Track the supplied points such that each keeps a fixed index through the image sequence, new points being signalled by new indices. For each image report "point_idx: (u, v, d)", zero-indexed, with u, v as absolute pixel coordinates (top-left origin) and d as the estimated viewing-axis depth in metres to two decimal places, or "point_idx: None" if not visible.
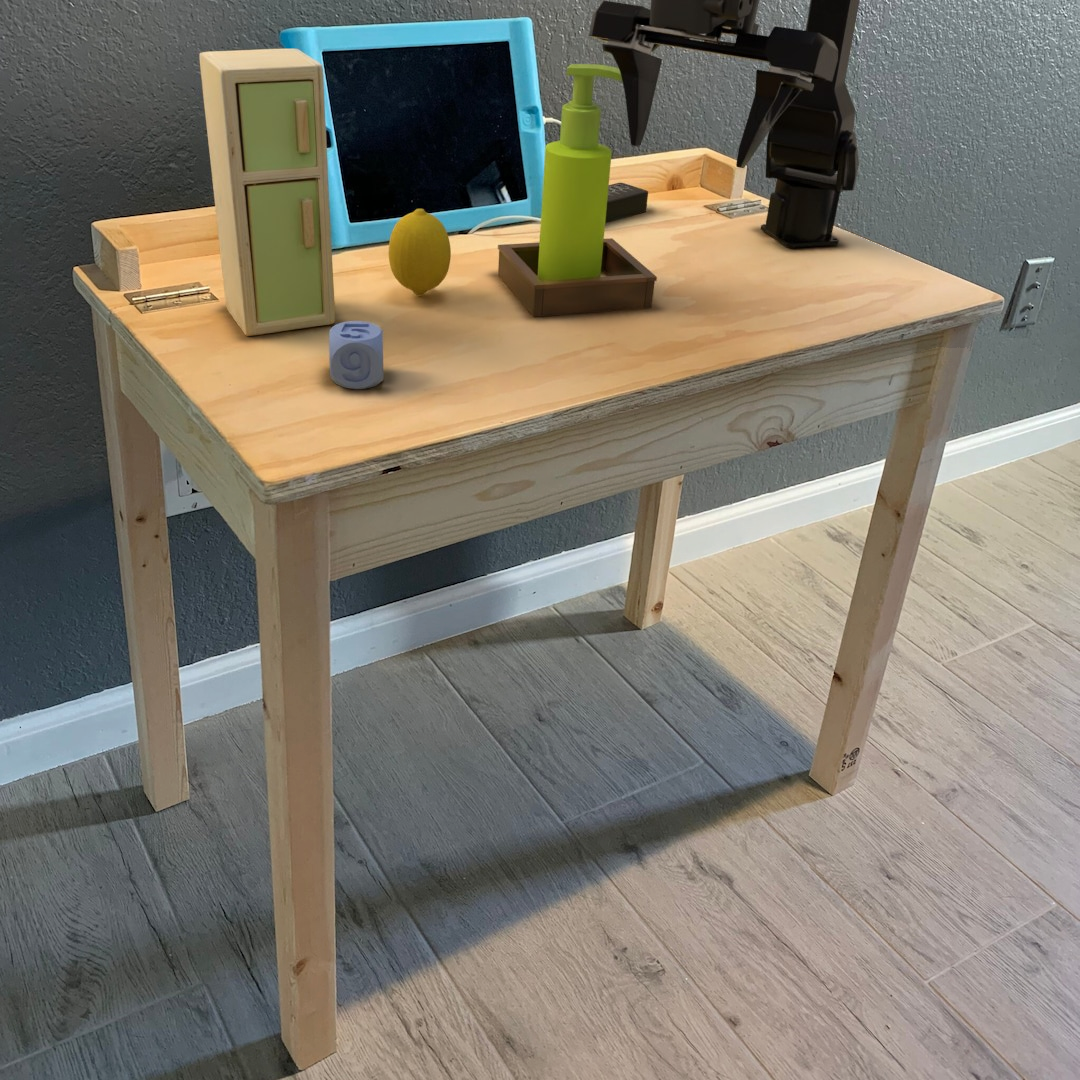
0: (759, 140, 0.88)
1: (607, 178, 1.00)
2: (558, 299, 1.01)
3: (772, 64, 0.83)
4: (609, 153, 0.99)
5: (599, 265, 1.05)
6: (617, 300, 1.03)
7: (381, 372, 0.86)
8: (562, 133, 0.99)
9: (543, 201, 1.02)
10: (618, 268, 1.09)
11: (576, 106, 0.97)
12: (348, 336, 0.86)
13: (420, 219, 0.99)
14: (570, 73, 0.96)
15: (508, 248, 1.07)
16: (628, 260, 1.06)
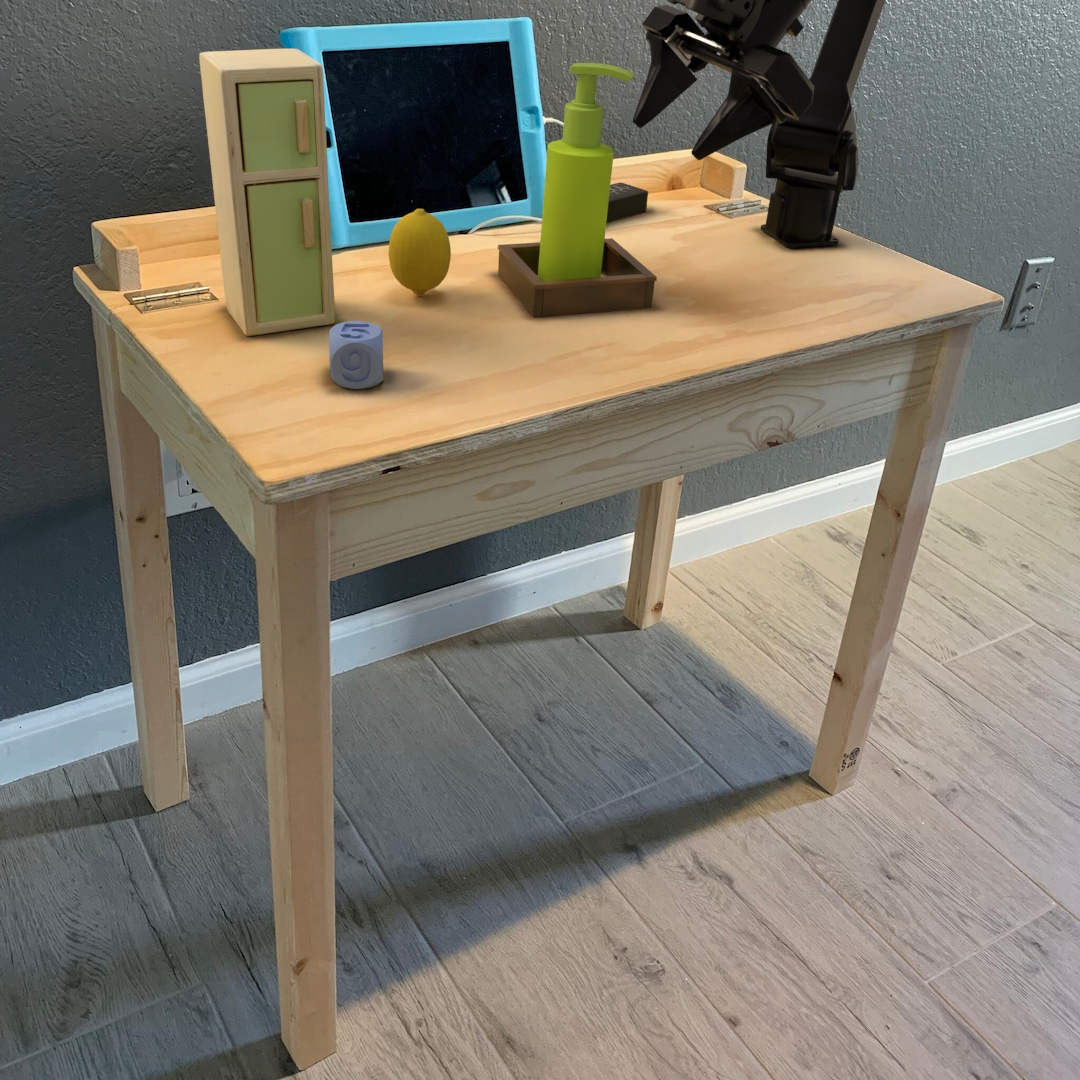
0: (720, 141, 0.97)
1: (609, 177, 1.00)
2: (558, 299, 1.01)
3: (744, 66, 0.93)
4: (611, 152, 0.99)
5: (599, 265, 1.05)
6: (617, 300, 1.03)
7: (381, 372, 0.86)
8: (565, 131, 0.99)
9: (544, 199, 1.02)
10: (618, 268, 1.09)
11: (579, 105, 0.97)
12: (348, 336, 0.86)
13: (420, 219, 0.99)
14: (574, 71, 0.96)
15: (508, 248, 1.07)
16: (628, 260, 1.06)
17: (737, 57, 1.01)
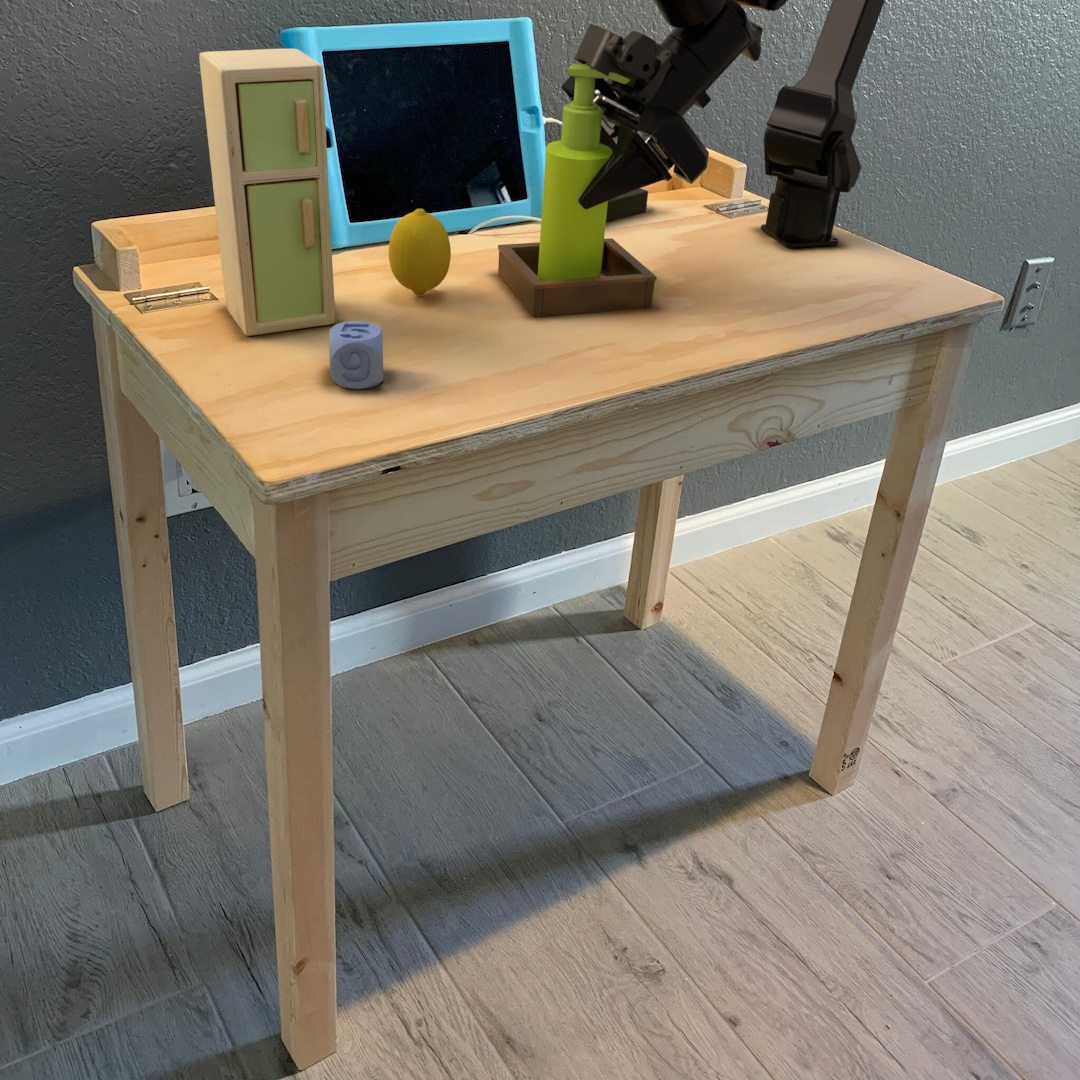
0: (607, 193, 0.99)
1: None
2: (558, 299, 1.01)
3: (639, 125, 0.94)
4: (610, 154, 0.99)
5: (599, 265, 1.04)
6: (617, 300, 1.03)
7: (381, 372, 0.86)
8: (563, 133, 0.98)
9: (543, 201, 1.02)
10: (618, 268, 1.09)
11: (577, 107, 0.97)
12: (348, 336, 0.86)
13: (420, 219, 0.99)
14: (571, 74, 0.95)
15: (508, 248, 1.07)
16: (628, 260, 1.06)
17: None
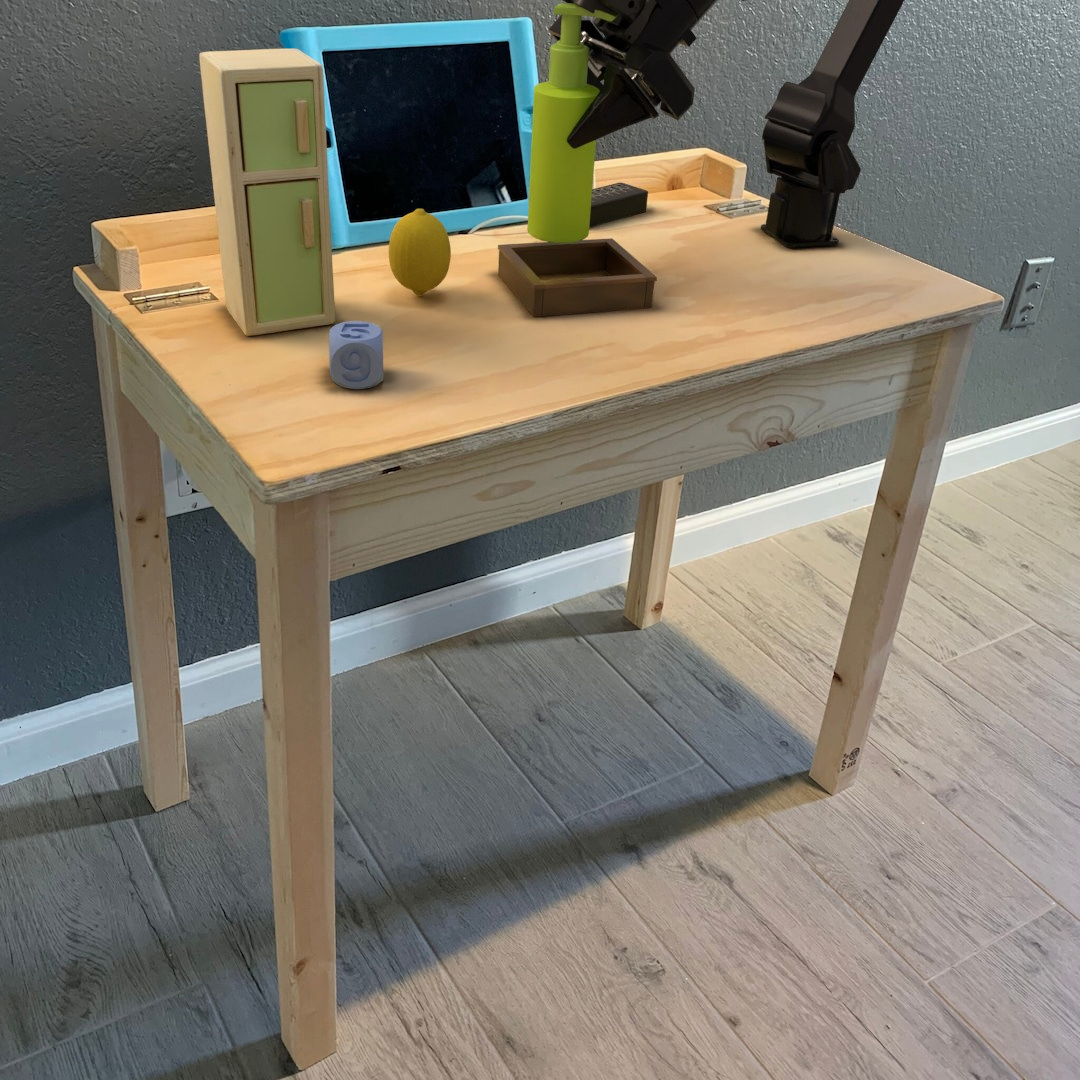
0: (595, 132, 1.00)
1: None
2: (558, 299, 1.01)
3: (625, 61, 0.95)
4: (597, 93, 1.00)
5: (588, 206, 1.06)
6: (617, 300, 1.03)
7: (381, 372, 0.86)
8: (550, 73, 0.99)
9: (532, 142, 1.03)
10: (618, 268, 1.09)
11: (564, 46, 0.98)
12: (348, 336, 0.86)
13: (420, 219, 0.99)
14: (557, 12, 0.97)
15: (508, 248, 1.07)
16: (628, 260, 1.06)
17: None
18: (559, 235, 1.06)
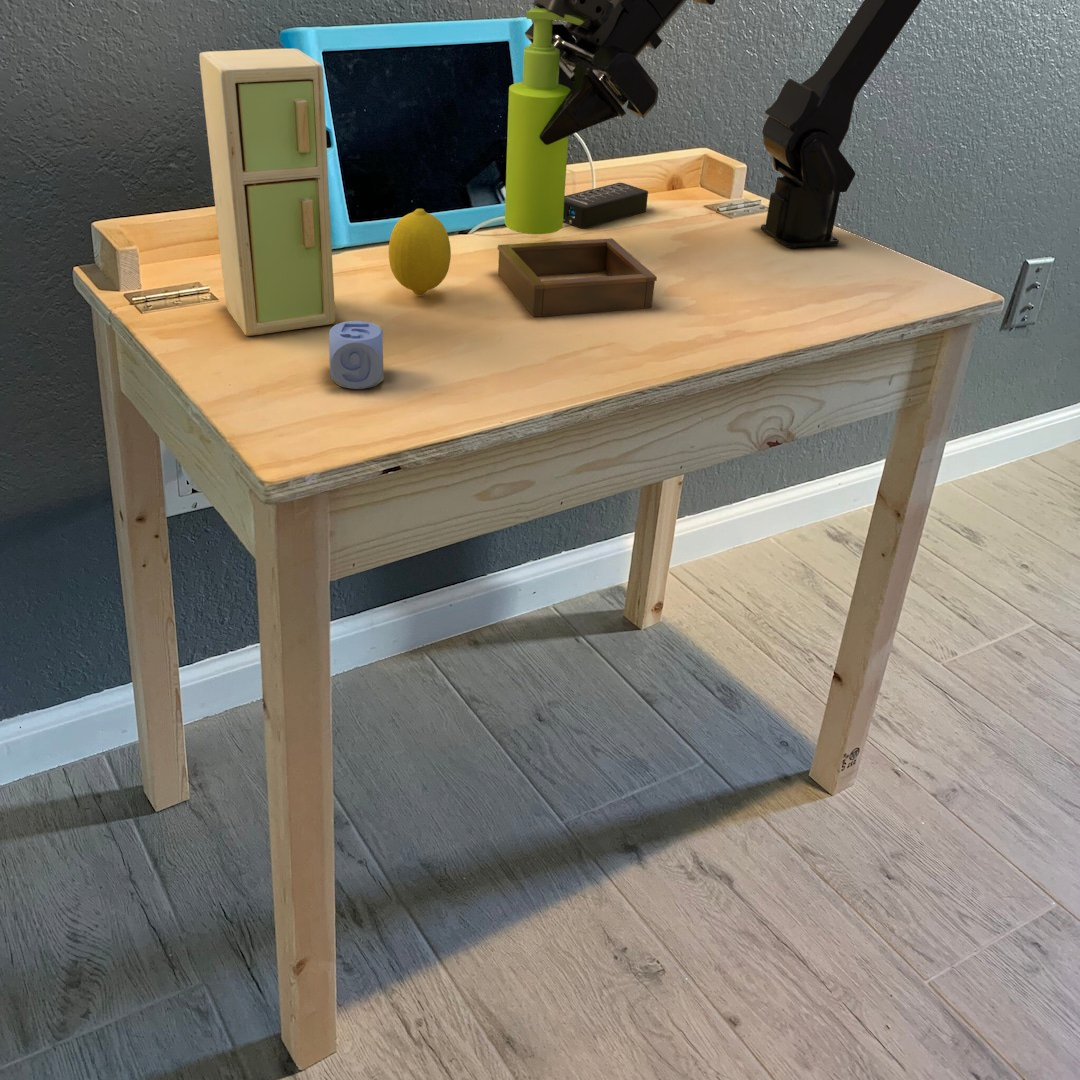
0: (566, 129, 1.06)
1: None
2: (558, 299, 1.01)
3: (592, 62, 1.01)
4: (568, 93, 1.06)
5: (561, 200, 1.12)
6: (617, 300, 1.03)
7: (381, 372, 0.86)
8: (524, 74, 1.06)
9: (508, 139, 1.09)
10: (618, 268, 1.09)
11: (536, 48, 1.04)
12: (348, 336, 0.86)
13: (420, 219, 0.99)
14: (530, 17, 1.03)
15: (508, 248, 1.07)
16: (628, 260, 1.06)
17: None
18: (534, 227, 1.12)
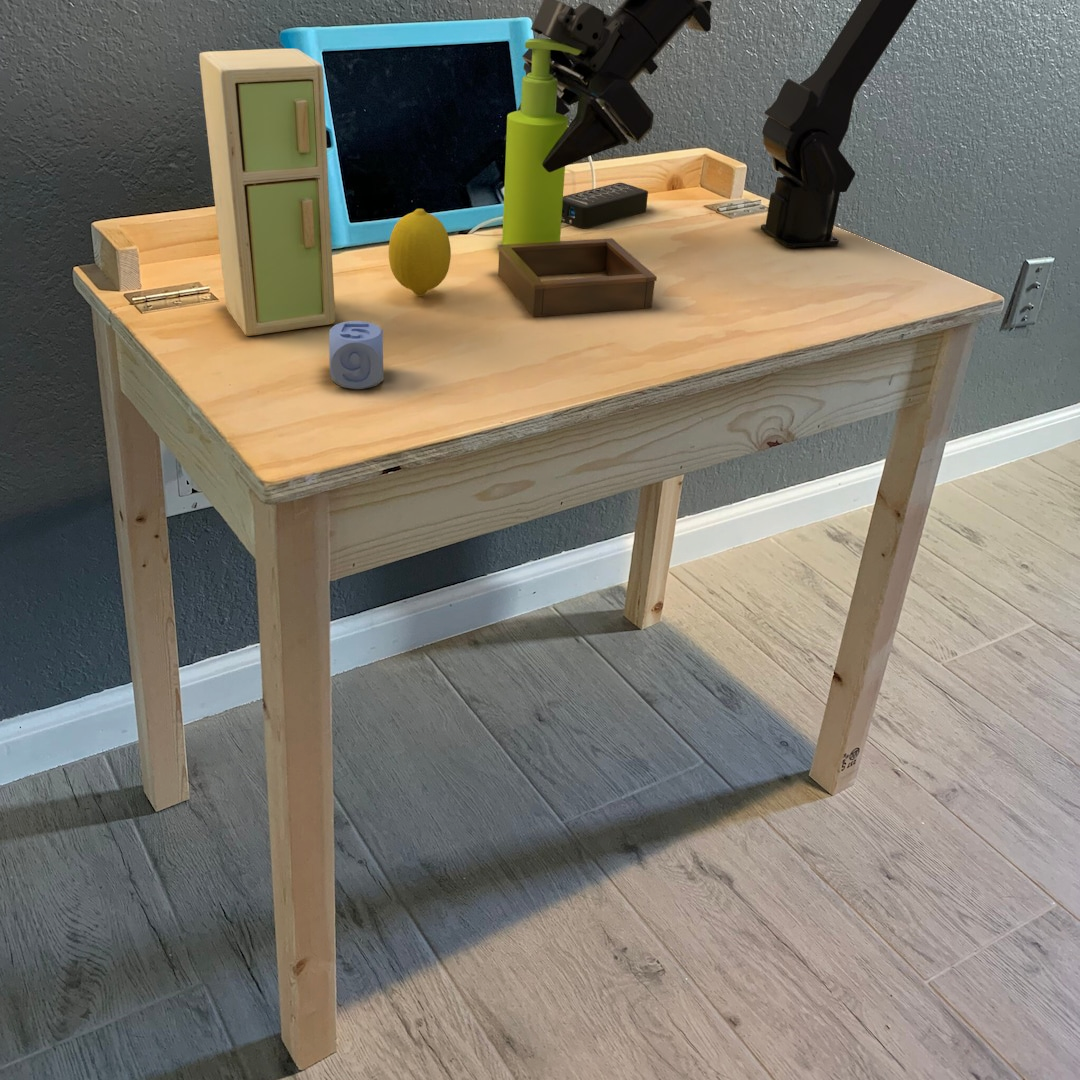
0: (568, 157, 1.06)
1: None
2: (558, 299, 1.01)
3: (589, 88, 1.03)
4: (565, 121, 1.08)
5: (558, 226, 1.14)
6: (617, 300, 1.03)
7: (381, 372, 0.86)
8: (522, 102, 1.08)
9: (506, 165, 1.11)
10: (618, 268, 1.09)
11: (534, 77, 1.06)
12: (348, 336, 0.86)
13: (420, 219, 0.99)
14: (528, 47, 1.05)
15: (508, 248, 1.07)
16: (628, 260, 1.06)
17: None
18: None
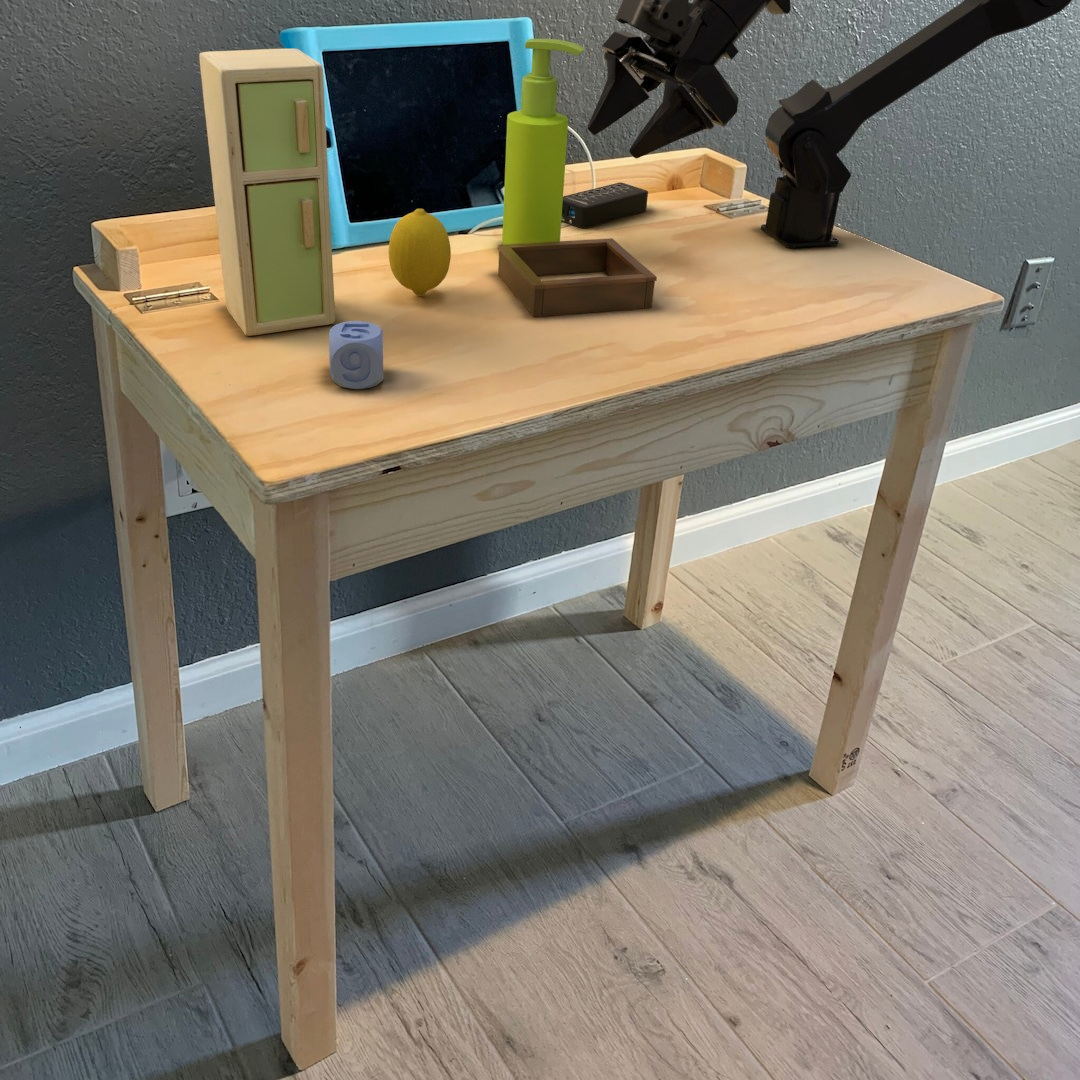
0: (655, 143, 1.09)
1: (564, 144, 1.09)
2: (558, 299, 1.01)
3: (675, 75, 1.06)
4: (565, 121, 1.08)
5: (558, 226, 1.14)
6: (617, 300, 1.03)
7: (381, 372, 0.86)
8: (522, 102, 1.08)
9: (506, 165, 1.11)
10: (618, 268, 1.09)
11: (534, 77, 1.06)
12: (348, 336, 0.86)
13: (420, 219, 0.99)
14: (528, 47, 1.05)
15: (508, 248, 1.07)
16: (628, 260, 1.06)
17: None
18: None
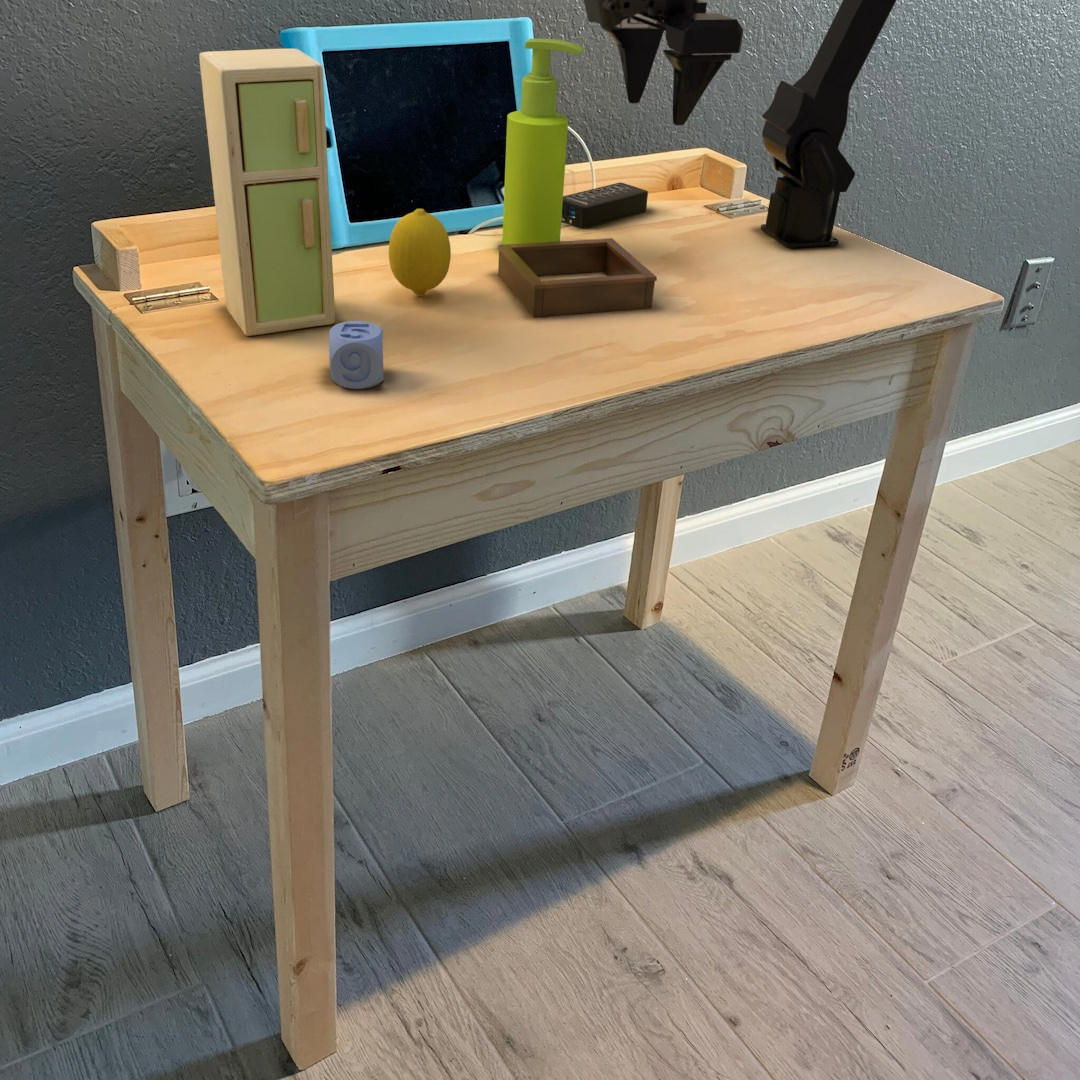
0: (690, 102, 1.08)
1: (564, 144, 1.09)
2: (558, 299, 1.01)
3: (669, 46, 1.04)
4: (565, 121, 1.08)
5: (558, 226, 1.14)
6: (617, 300, 1.03)
7: (381, 372, 0.86)
8: (522, 102, 1.08)
9: (506, 165, 1.11)
10: (618, 268, 1.09)
11: (534, 77, 1.06)
12: (348, 336, 0.86)
13: (420, 219, 0.99)
14: (528, 47, 1.05)
15: (508, 248, 1.07)
16: (628, 260, 1.06)
17: None
18: None
